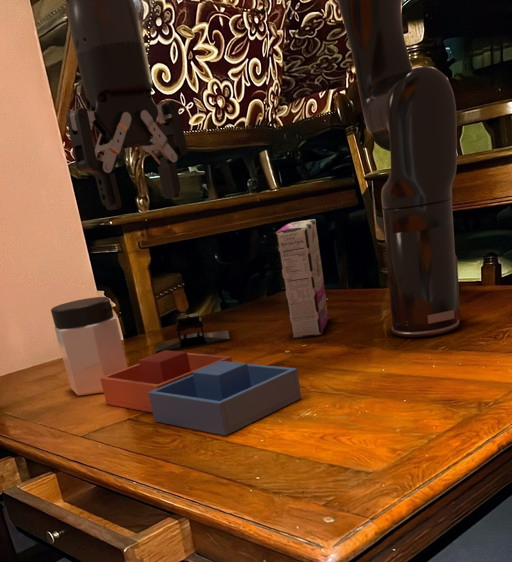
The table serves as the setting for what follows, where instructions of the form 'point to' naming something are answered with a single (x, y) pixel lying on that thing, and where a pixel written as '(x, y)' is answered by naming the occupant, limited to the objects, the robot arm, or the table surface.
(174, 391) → the blue bin
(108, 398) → the terracotta bin
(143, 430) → the table surface
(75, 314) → the jar
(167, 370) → the red block
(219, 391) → the blue block
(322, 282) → the candy bar box
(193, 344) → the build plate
